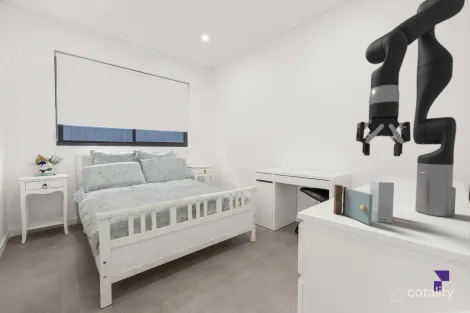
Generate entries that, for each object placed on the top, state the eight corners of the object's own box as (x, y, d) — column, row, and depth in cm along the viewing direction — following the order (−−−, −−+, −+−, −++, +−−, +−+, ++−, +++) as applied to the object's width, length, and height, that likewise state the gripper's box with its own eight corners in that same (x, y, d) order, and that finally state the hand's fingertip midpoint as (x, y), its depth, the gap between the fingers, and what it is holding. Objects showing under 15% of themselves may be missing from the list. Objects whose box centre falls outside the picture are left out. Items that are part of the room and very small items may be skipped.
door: (371, 224, 60) (372, 194, 60) (365, 224, 60) (366, 194, 60) (347, 213, 70) (348, 188, 70) (342, 214, 70) (343, 188, 70)
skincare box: (393, 223, 63) (394, 182, 62) (377, 222, 63) (378, 182, 63) (382, 217, 69) (383, 180, 68) (368, 216, 69) (369, 179, 69)
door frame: (387, 215, 70) (388, 186, 70) (391, 217, 68) (392, 187, 68) (333, 212, 73) (334, 184, 73) (335, 214, 71) (336, 185, 71)
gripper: (364, 100, 63) (362, 155, 63) (418, 99, 61) (415, 156, 61) (353, 105, 70) (352, 155, 70) (401, 105, 68) (399, 156, 68)
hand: (381, 155), depth 66 cm, fingers open, 8 cm apart
